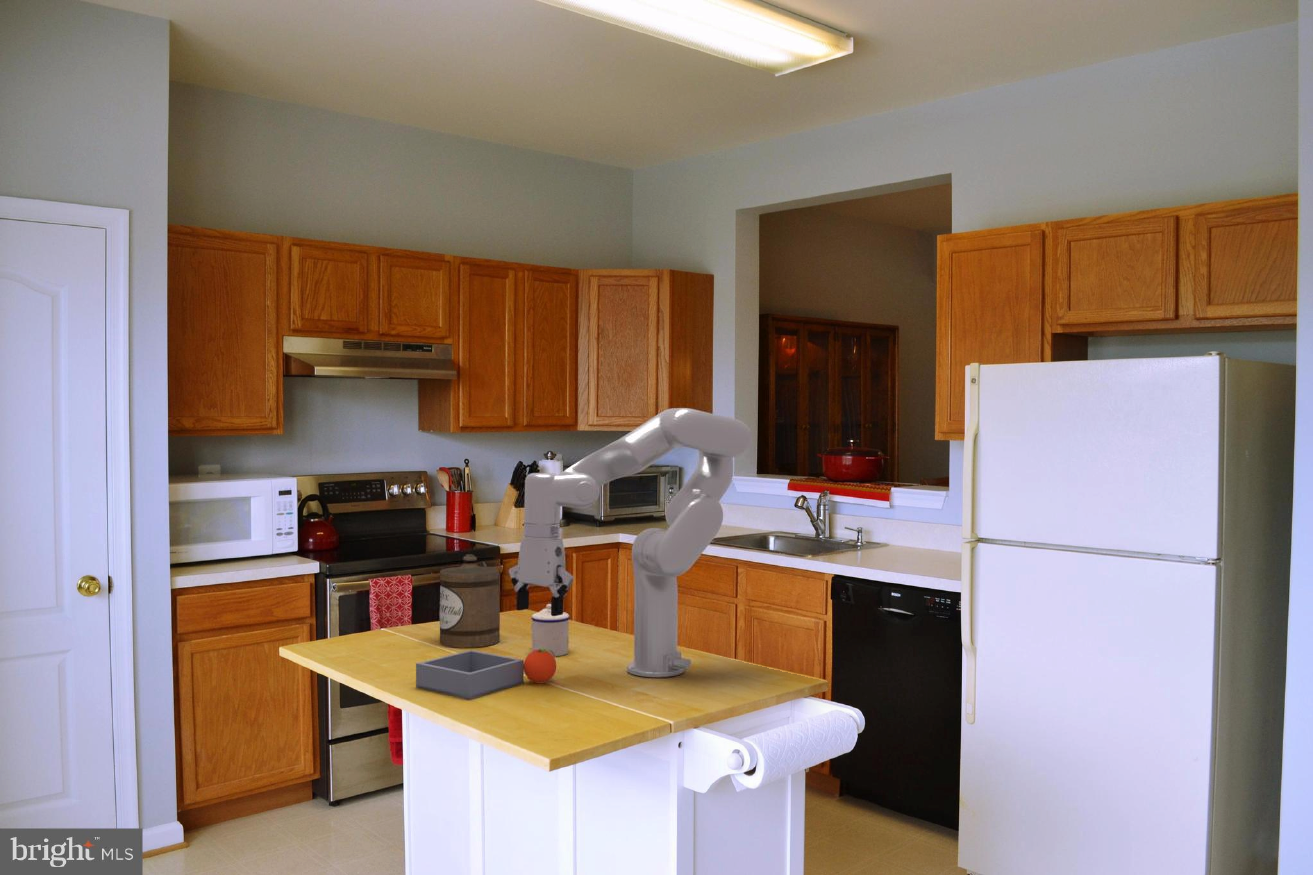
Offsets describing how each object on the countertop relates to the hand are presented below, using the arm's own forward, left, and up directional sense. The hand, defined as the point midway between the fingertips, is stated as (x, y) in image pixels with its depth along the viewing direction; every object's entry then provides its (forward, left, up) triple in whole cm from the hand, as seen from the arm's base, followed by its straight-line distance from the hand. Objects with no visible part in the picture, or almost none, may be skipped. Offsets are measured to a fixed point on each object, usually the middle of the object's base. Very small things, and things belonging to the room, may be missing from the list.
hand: (539, 612), depth 211 cm
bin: (+10, +11, -15) cm, 21 cm away
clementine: (0, 0, -15) cm, 15 cm away
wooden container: (+41, -19, -15) cm, 48 cm away
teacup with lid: (+18, -22, -15) cm, 32 cm away
